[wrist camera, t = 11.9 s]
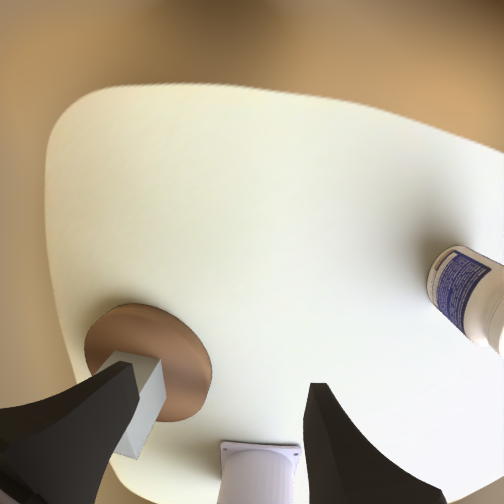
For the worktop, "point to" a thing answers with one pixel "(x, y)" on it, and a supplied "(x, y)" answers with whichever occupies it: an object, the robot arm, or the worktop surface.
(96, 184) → the worktop surface
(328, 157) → the worktop surface
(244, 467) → the robot arm
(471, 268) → the pill bottle
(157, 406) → the block
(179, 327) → the plinth
